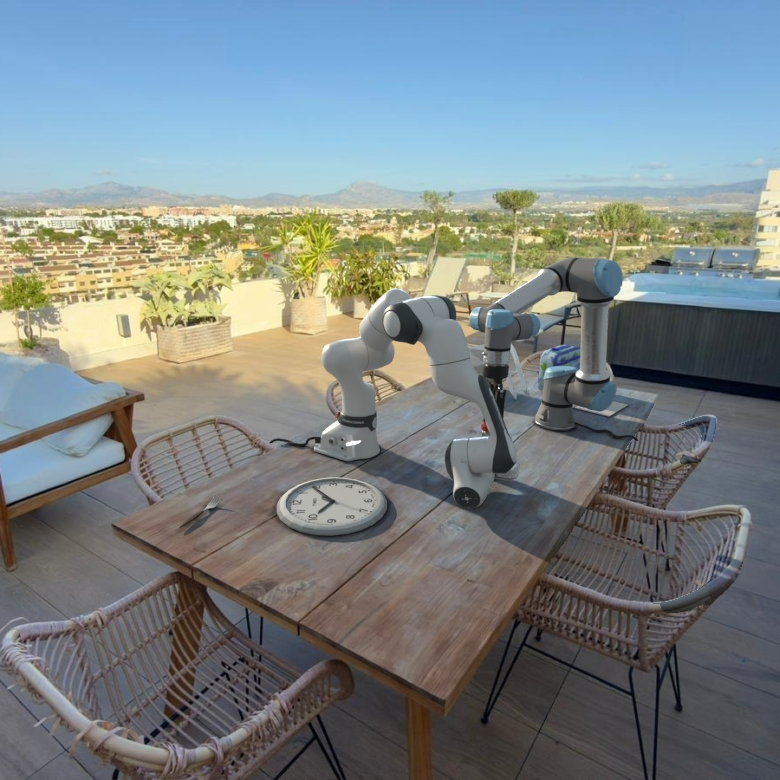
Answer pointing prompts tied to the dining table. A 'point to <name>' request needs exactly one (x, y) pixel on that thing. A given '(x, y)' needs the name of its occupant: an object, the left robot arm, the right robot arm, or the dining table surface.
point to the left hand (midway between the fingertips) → (489, 454)
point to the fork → (209, 506)
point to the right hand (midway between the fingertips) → (490, 437)
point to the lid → (484, 427)
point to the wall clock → (331, 506)
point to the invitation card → (609, 411)
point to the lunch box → (558, 360)
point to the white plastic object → (478, 365)
